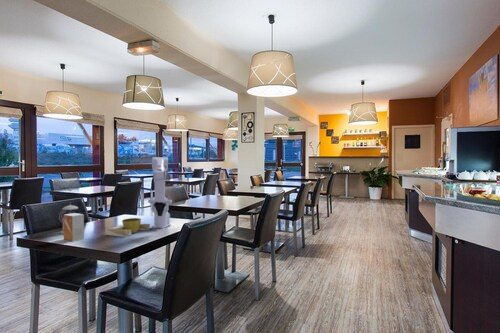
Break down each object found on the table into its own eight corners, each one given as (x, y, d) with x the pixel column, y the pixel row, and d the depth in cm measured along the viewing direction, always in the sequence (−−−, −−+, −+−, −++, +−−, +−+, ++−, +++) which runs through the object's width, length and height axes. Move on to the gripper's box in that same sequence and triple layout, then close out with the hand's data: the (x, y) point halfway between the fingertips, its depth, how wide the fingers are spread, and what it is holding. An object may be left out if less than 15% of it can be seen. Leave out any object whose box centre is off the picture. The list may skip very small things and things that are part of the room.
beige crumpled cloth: (130, 227, 191) (130, 222, 191) (150, 229, 187) (150, 224, 187) (105, 234, 172) (105, 229, 172) (126, 236, 168) (126, 231, 168)
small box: (63, 239, 163) (62, 214, 162) (75, 236, 168) (74, 212, 168) (72, 241, 159) (72, 215, 158) (84, 238, 164) (84, 214, 164)
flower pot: (121, 234, 173) (121, 221, 172) (123, 230, 182) (123, 218, 182) (140, 233, 175) (140, 220, 175) (141, 229, 185) (141, 217, 185)
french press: (71, 234, 174) (70, 189, 174) (53, 233, 177) (53, 189, 176) (84, 230, 184) (83, 187, 184) (67, 229, 186) (66, 187, 186)
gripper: (144, 192, 176) (144, 216, 176) (166, 193, 171) (167, 217, 172) (152, 191, 183) (152, 214, 183) (174, 191, 178) (174, 215, 178)
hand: (160, 215), depth 178 cm, fingers closed
